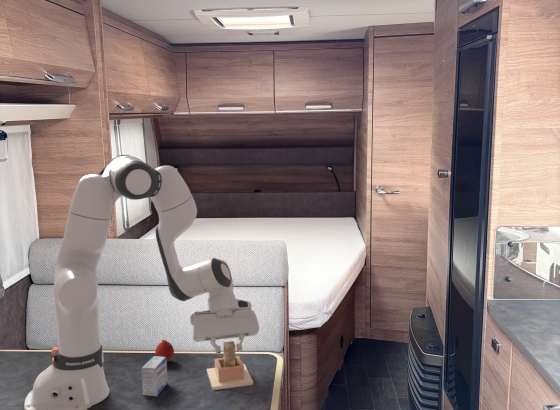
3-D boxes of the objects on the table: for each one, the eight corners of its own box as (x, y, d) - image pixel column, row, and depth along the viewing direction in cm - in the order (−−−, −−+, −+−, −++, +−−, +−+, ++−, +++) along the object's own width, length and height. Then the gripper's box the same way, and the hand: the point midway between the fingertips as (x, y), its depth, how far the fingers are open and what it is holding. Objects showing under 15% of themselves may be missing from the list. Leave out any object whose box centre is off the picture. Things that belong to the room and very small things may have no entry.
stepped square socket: (212, 390, 164) (212, 374, 164) (206, 371, 176) (206, 356, 175) (253, 384, 168) (252, 368, 167) (244, 366, 179) (244, 352, 178)
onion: (167, 356, 186) (166, 334, 185) (177, 362, 182) (177, 338, 181) (152, 362, 182) (151, 339, 181) (162, 368, 178) (161, 344, 177)
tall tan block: (225, 377, 170) (225, 346, 168) (223, 373, 173) (223, 342, 171) (235, 376, 170) (235, 345, 169) (233, 372, 173) (233, 341, 172)
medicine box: (157, 397, 161) (155, 368, 159) (142, 395, 162) (140, 367, 160) (167, 383, 168) (166, 356, 167) (153, 382, 169) (152, 355, 168)
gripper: (190, 308, 172) (194, 351, 164) (255, 301, 177) (263, 343, 170) (188, 316, 177) (193, 359, 169) (252, 310, 182) (260, 351, 175)
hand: (229, 351), depth 169 cm, fingers open, 5 cm apart
